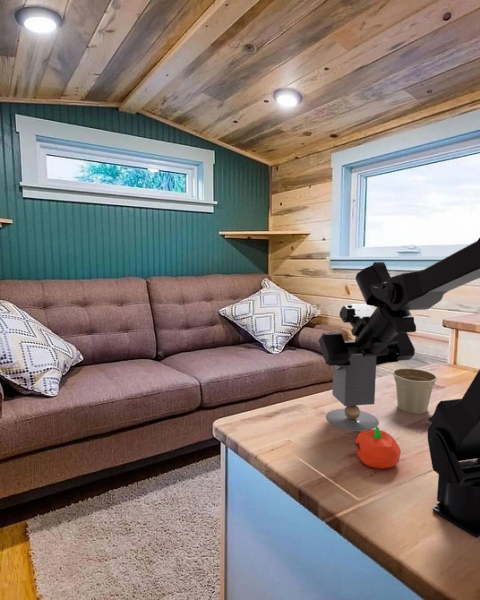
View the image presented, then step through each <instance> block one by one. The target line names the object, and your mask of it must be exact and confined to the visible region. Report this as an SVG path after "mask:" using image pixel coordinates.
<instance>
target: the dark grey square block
mask: <svg viewBox="0 0 480 600" xmlns="http://www.w3.org/2000/svg"><path fill="white" fill-rule="evenodd" d="M344 341H345V343H348V342H355V340H344ZM376 357H377V356H370V357H363V354H360V355H351V357H350V358H349V361H350V364H351V365H349V366H347V367H344V368H342V369H339V370H336V369H335V365H332V372H333V373H332V396H333V397H334V398H336V399H337V400H338V401H339V402H340V403H341V405H343V406H344V407H346V406H354V405H356V406H367V405H375V403H376V402H375V400H376V399H375V396H376V395H375V394H376V378H377V376H376V375H377V373H376V371H377V366H376Z"/></svg>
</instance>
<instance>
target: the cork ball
mask: <svg viewBox="0 0 480 600" xmlns="http://www.w3.org/2000/svg"><path fill="white" fill-rule="evenodd" d="M344 409H345V415H346V417H347V418H349V419H351V420H354V419H357V418H358V417H359V415H360V411H361V410H360V408H359V407H358V405H354V406H345V407H344Z"/></svg>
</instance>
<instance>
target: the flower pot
mask: <svg viewBox="0 0 480 600" xmlns="http://www.w3.org/2000/svg"><path fill="white" fill-rule="evenodd" d="M392 375H393V377H394V378H393V379H394V381H395V389H396V391H395V392H396V400H397V408H398V409H399V410H401V411H403V412H405V413H410V414H417V415H420V414H425V413H427V411H428V409H429V404H430V399H431V395H432V392H433V391H432V390H433V387H434V386H435V384H436V381H437V380H438V376H437V375H436V374H435V373H433V372H430V371H428V370H424V369H419V368H409V367H406V368H404V367H403V368H396V369H394V370H392Z"/></svg>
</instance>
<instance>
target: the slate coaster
mask: <svg viewBox="0 0 480 600" xmlns="http://www.w3.org/2000/svg"><path fill="white" fill-rule="evenodd" d="M325 419H326V421H327V422H328V423H329V424H331V426H332V425H333V426H335V427H337V428H340V429H342V430H348V431H356V432H357V431H359V432H362V431H366V430H371V429H373V430H375V428H376V427H378V426H379V424H380V421H379V419H378V417H376V416H375V415H374V414H372V413H369V412H368V411H367V412H366V411H363V410H360V415H359V417H358V418H357V419H354V420H351V419H349V418H347V417H346V415H345V408H338V409H337V408H335V409H333V410H330V411H328V412H327V413H326V415H325Z"/></svg>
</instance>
